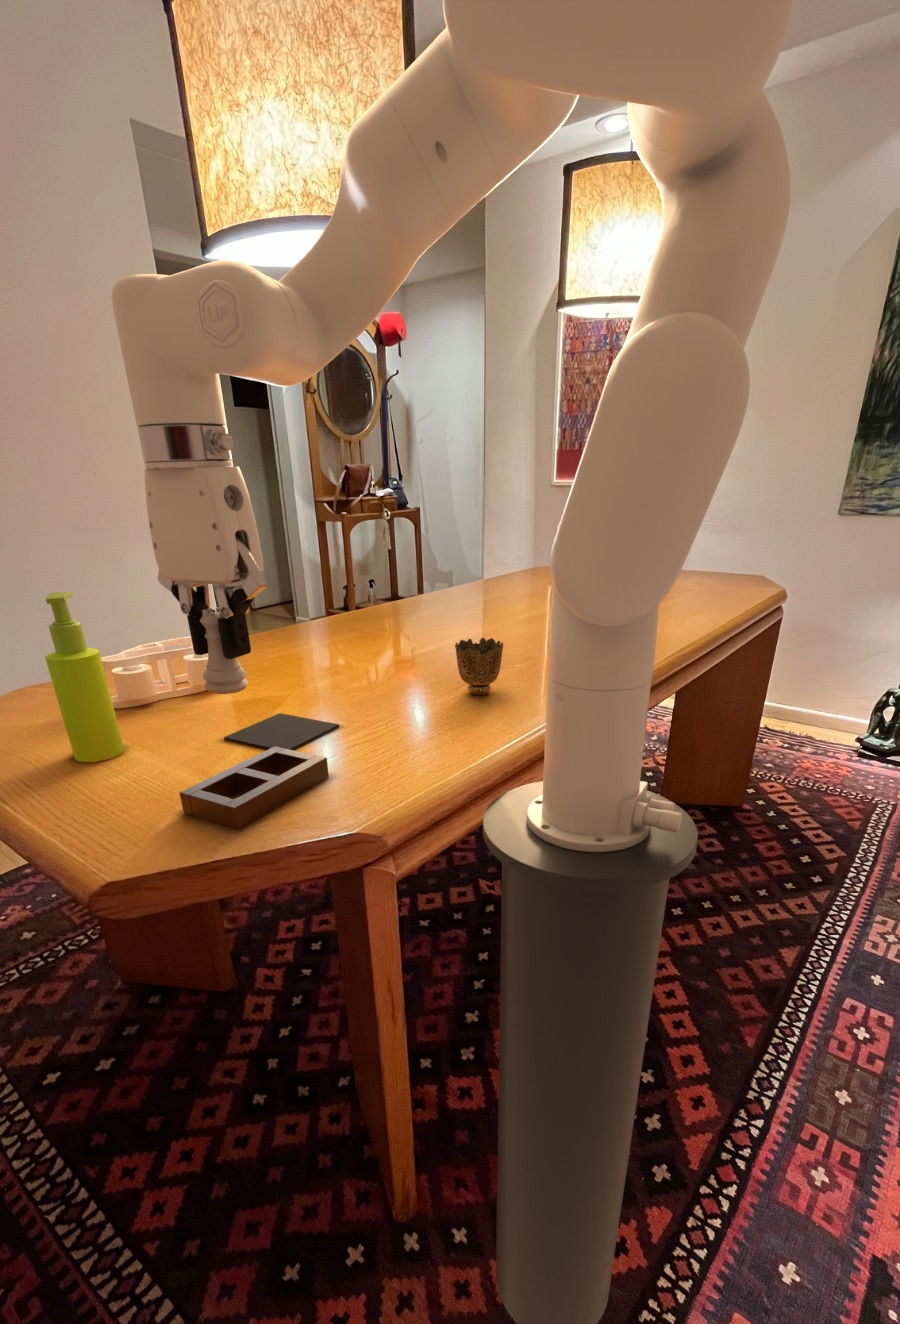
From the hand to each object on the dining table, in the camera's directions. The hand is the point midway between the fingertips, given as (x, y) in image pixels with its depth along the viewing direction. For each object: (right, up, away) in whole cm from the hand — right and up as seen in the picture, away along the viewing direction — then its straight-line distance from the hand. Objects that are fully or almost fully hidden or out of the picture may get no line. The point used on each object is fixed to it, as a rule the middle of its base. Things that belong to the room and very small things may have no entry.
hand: (222, 652), depth 68 cm
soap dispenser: (-23, -9, +20) cm, 31 cm away
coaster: (0, -6, +24) cm, 25 cm away
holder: (+2, -14, +7) cm, 16 cm away
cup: (+28, +2, +39) cm, 48 cm away
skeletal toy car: (-23, +2, +42) cm, 48 cm away
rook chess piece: (0, -4, +2) cm, 4 cm away
